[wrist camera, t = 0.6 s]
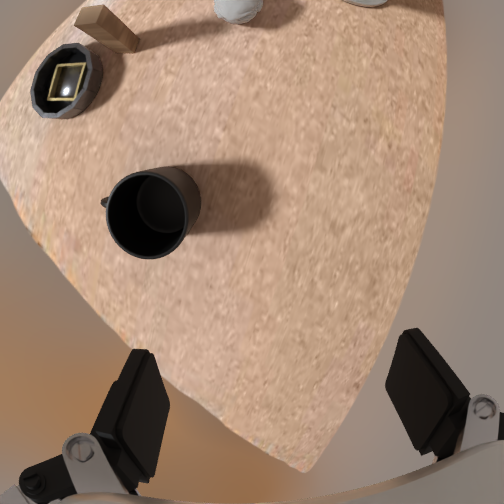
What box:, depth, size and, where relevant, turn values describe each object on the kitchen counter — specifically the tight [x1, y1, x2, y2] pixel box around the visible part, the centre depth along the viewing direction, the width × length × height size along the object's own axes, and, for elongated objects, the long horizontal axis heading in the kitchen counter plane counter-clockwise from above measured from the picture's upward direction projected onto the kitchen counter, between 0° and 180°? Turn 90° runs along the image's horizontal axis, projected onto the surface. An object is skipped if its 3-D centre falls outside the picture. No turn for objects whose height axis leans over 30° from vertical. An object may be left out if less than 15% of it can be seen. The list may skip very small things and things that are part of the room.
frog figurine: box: [214, 0, 263, 24], centre depth 25 cm, size 6×7×7 cm
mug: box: [101, 167, 201, 259], centre depth 32 cm, size 9×12×9 cm
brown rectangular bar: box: [74, 5, 139, 53], centre depth 23 cm, size 2×3×12 cm
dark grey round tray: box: [30, 43, 103, 119], centre depth 28 cm, size 11×11×4 cm
